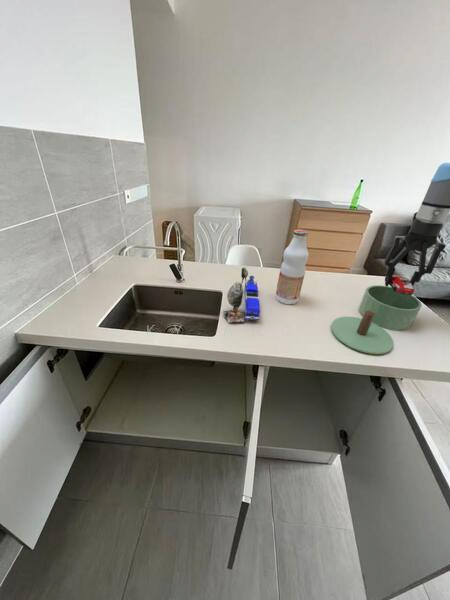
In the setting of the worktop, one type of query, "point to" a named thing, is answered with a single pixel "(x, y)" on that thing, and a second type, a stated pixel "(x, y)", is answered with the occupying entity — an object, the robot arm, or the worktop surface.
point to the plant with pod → (236, 300)
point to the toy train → (251, 300)
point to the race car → (401, 285)
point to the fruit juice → (293, 269)
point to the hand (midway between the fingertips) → (397, 286)
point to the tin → (390, 307)
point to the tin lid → (362, 334)
